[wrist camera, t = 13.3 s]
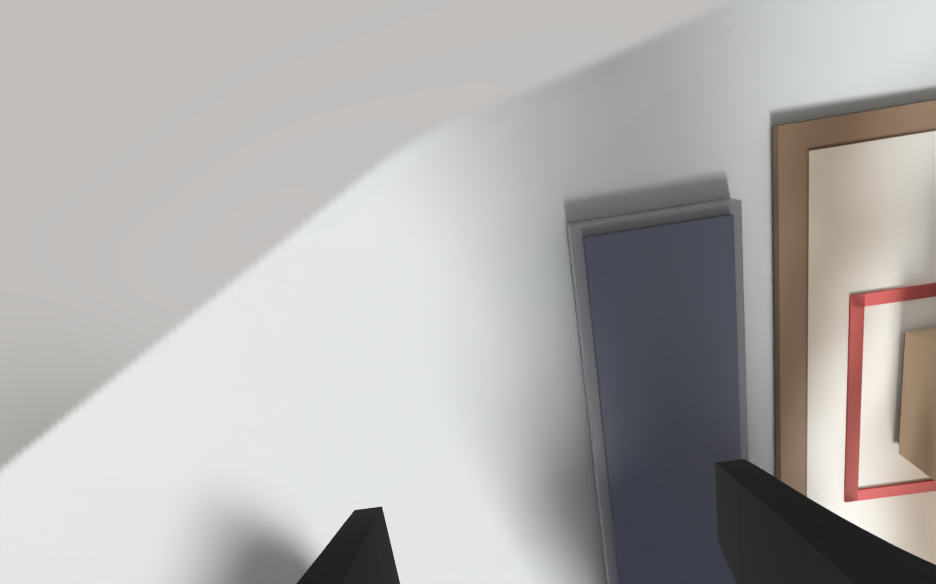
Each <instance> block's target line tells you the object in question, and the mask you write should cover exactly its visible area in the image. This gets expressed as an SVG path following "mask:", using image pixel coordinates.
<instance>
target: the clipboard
mask: <svg viewBox="0 0 936 584" xmlns="http://www.w3.org/2000/svg"><path fill="white" fill-rule="evenodd" d="M772 153H773V246H774V338H775V431H776V478H777V479H778V480H780V481H782V482H783V483H785V484H787V485H788V486H790V487H791V488H793V489H795V490H796V491H798V492H800V493H801V494H803V495H805V496H806V497H808V498H810V499H811V500H813V501H815V502H816V503H818V504H820V505H821V506H823V507H825V508H827V509H828V510H830V511H832V512H834V513H835V514H837V515H839V516H840V517H842V518H844V519H846V520H848V521H849V522H851V523H853V524H855V525H857V526H858V527H860V528H862V529H864V530H866V531H868V532H870V533H872V534H874V535H876V536H877V537H879V538H881V539H883V540H885V541H887V542H889V543H891V544H893V545H895V546H897V547H899V548H901V549H903V550H905V551H907V552H909V553H911V554H913V555H915V556H917V557H920V558H922V559H924V560H926V561H928V562H931V563H933V564H935V565H936V482H935V481H934V480H933V479H932V478H930V477H929V476H928V475H926V474H925V473H924V472H922V471H921V470H920V469H918V468H917V467H916V466H914V465H913V464H912V463H910V462H909V461H908V460H906V459H905V458H904V457H902V456H901V455H900V454H898V453H899V444H898V442H899V425H900V407H901V389H902V372H903V354H904V336H905V332H907V331H914V330H921V329H928V328H936V100H931V101H925V102H918V103H912V104H906V105H900V106H894V107H888V108H881V109H875V110H869V111H863V112H857V113H851V114H844V115H838V116H832V117H826V118H820V119H814V120H807V121H801V122H795V123H789V124H783V125H777V126H772Z"/></svg>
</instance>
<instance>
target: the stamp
mask: <svg viewBox="0 0 936 584" xmlns="http://www.w3.org/2000/svg"><path fill="white" fill-rule="evenodd" d="M898 444H899V453H898V454H900V455H901V456H902V457H904V458H905V459H906V460H908V461H909V462H910V463H912V464H913V465H914V466H916V467H917V468H918V469H920V470H921V471H922V472H924V473H925V474H926V475H928V476H929V477H930V478H932V479H933V480H934V481H935V482H936V328H928V329H921V330H914V331H907V332H905V336H904V354H903V372H902V389H901V407H900V425H899V442H898Z"/></svg>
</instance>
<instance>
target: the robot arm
mask: <svg viewBox="0 0 936 584" xmlns="http://www.w3.org/2000/svg"><path fill="white" fill-rule="evenodd" d="M715 481H716V503H717V526H718V544H719V546H720V548H721V550H722V553H723V555H724V557H725V559H726V562H727V564H728V566H729V568H730V570H731V572H732V575H733V577H734V579H735V581H736V583H737V584H936V565H935V564H933V563H931V562H928V561H926V560H924V559H922V558H920V557H917V556H915V555H913V554H911V553H909V552H907V551H905V550H903V549H901V548H899V547H897V546H895V545H893V544H891V543H889V542H887V541H885V540H883V539H881V538H879V537H877V536H876V535H874V534H872V533H870V532H868V531H866V530H864V529H862V528H860V527H858V526H857V525H855V524H853V523H851V522H849V521H848V520H846V519H844V518H842V517H840V516H839V515H837V514H835V513H834V512H832V511H830V510H828V509H827V508H825V507H823V506H821V505H820V504H818V503H816V502H815V501H813V500H811V499H810V498H808V497H806V496H805V495H803V494H801V493H800V492H798V491H796V490H795V489H793V488H791V487H790V486H788V485H787V484H785V483H783V482H782V481H780V480H778V479H777V478H775V477H774V476H772V475H770V474H769V473H767V472H765V471H764V470H762V469H760V468H759V467H757V466H755V465H754V464H752V463H750V462H749V461H747V460H745V459H740V460H732V461H725V462H717V463H715ZM297 584H400V582H399V577H398V573H397V569H396V565H395V560H394V556H393V552H392V548H391V543H390V539H389V535H388V531H387V526H386V522H385V518H384V514H383V509H382V507H376V508H368V509H360V510H355V511H354V512H353V513H352V514H351V516H350V517H349V518H348V519H347V521H346V522H345V523H344V524H343V526H342V527H341V528H340V529H339V531H338V532H337V533H336V535H335V536H334V537H333V539H332V540H331V541H330V542H329V544H328V545H327V546H326V548H325V549H324V550H323V551H322V553H321V554H320V555H319V557H318V558H317V559H316V560H315V562H314V563H313V564H312V565H311V567H310V568H309V569H308V570H307V571H306V573H305V574H304V575H303V576H302V578H301V579H300V580H299V581H298V583H297Z"/></svg>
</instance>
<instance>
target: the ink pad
mask: <svg viewBox="0 0 936 584" xmlns="http://www.w3.org/2000/svg"><path fill="white" fill-rule="evenodd" d="M567 233H568V241H569V250H570V259H571V268H572V277H573V286H574V295H575V304H576V313H577V322H578V331H579V340H580V348H581V357H582V366H583V375H584V384H585V393H586V402H587V411H588V420H589V429H590V438H591V446H592V455H593V464H594V473H595V482H596V491H597V500H598V509H599V518H600V527H601V536H602V545H603V553H604V562H605V571H606V580H607V584H737V583H736V581H735V579H734V577H733V575H732V572H731V570H730V568H729V566H728V564H727V562H726V559H725V557H724V555H723V553H722V550H721V548H720V546H719V544H718V526H717V503H716V481H715V463H717V462H725V461H732V460H740V459H745V460H747V461H748V444H747V406H746V367H745V329H744V291H743V253H742V215H741V201H740V200H736V199H732V198H729V199H722V200H716V201H710V202H703V203H697V204H690V205H684V206H677V207H671V208H665V209H658V210H652V211H645V212H639V213H633V214H626V215H620V216H613V217H607V218H601V219H594V220H588V221H581V222H575V223H569V224H567Z"/></svg>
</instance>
